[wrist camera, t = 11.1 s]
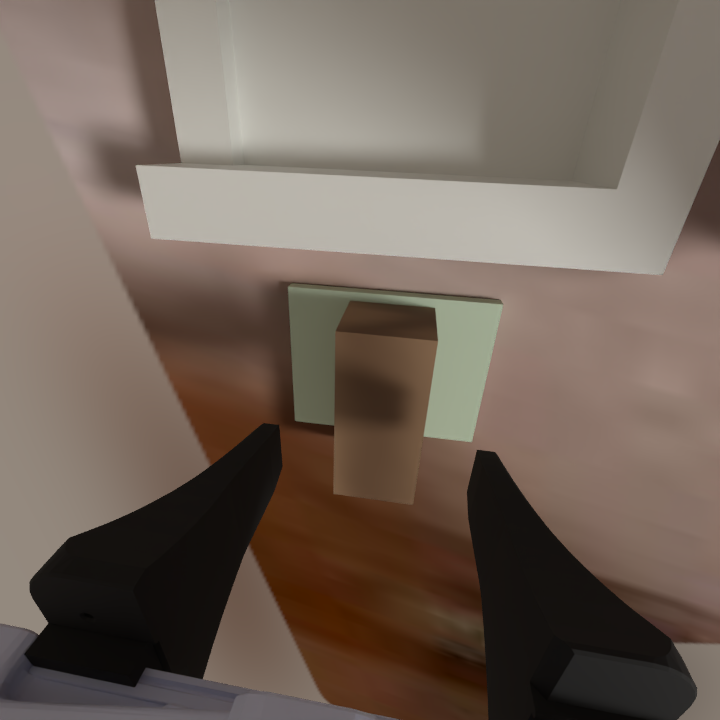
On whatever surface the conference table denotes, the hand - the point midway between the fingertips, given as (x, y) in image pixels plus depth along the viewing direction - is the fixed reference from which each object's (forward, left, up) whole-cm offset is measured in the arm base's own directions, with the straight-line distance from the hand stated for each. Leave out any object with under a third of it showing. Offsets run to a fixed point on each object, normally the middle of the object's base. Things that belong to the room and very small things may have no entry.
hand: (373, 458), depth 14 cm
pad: (0, 0, -7) cm, 7 cm away
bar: (0, +1, -7) cm, 7 cm away
